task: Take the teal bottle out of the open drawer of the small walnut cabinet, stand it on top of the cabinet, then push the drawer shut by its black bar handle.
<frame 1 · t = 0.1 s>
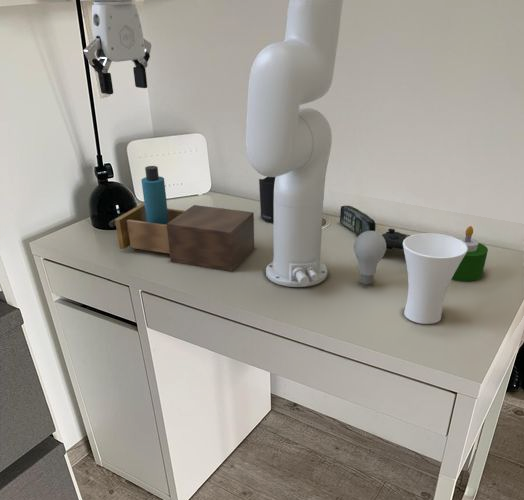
hand: (124, 90, 118), 31 cm above the table, tool pointing down, fingers open, 9 cm apart
cup: (422, 316, 98), on the table
mobile phone: (358, 233, 132), on the table
cabinet: (213, 255, 121), on the table
candle: (460, 273, 113), on the table
pen holder: (277, 218, 141), on the table
drawer: (149, 228, 124), point 4 cm above the table, slide at 12.0 cm, touching teal bottle
gaming controller: (399, 258, 119), on the table
teal bottle: (159, 238, 124), point 2 cm above the table, touching drawer
lightbulb: (365, 285, 109), on the table
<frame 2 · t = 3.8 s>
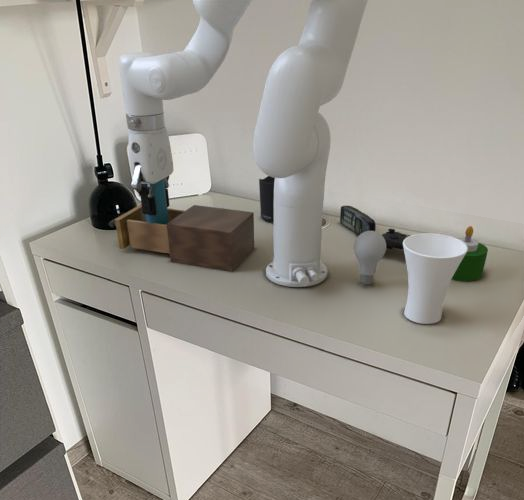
hand: (156, 209, 120), 9 cm above the table, tool pointing down, fingers closed on teal bottle, 4 cm apart
teal bottle: (159, 238, 124), point 2 cm above the table, touching drawer, gripper
everything else where it was.
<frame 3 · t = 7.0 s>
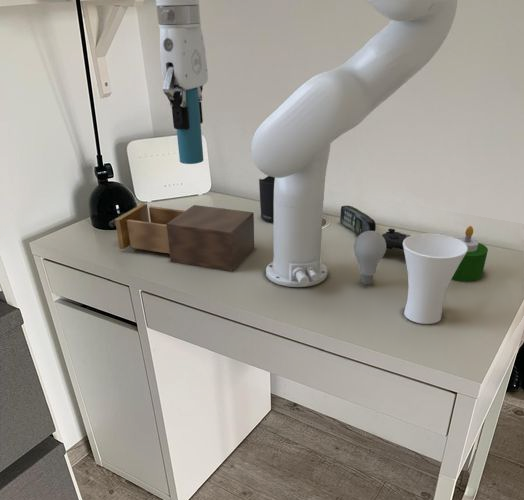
hand: (188, 125, 107), 27 cm above the table, tool pointing down, fingers closed on teal bottle, 4 cm apart
drawer: (149, 228, 124), point 4 cm above the table, slide at 12.0 cm
teal bottle: (191, 160, 111), point 20 cm above the table, touching gripper
everything else where it was.
when the fingers open (15 cm above the table, at t = 10.3 s): teal bottle stays where it is, resting on cabinet.
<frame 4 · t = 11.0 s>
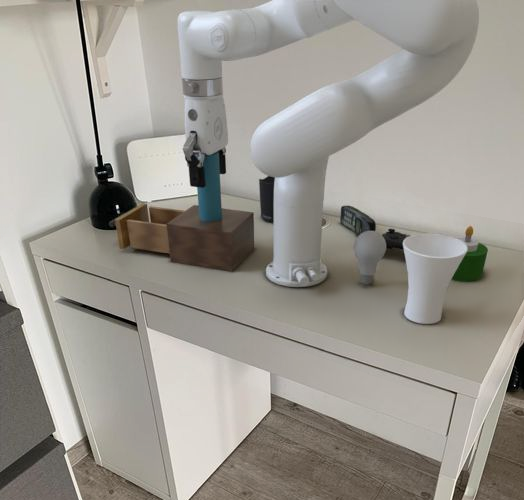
hand: (208, 179, 112), 17 cm above the table, tool pointing down, fingers open, 9 cm apart
teal bottle: (210, 217, 116), point 9 cm above the table, touching cabinet
everything else where it was.
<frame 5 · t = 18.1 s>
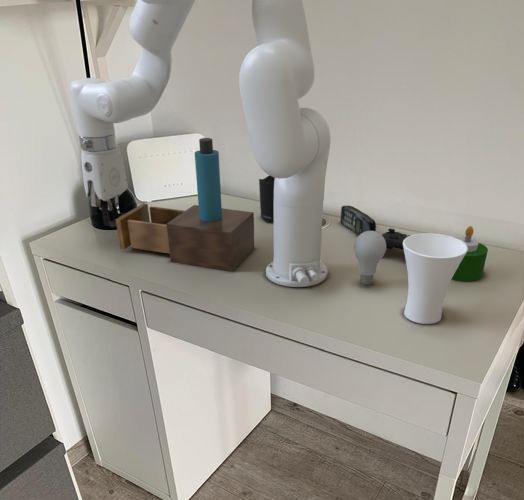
hand: (112, 224, 127), 4 cm above the table, tool pointing down, fingers closed
drawer: (150, 228, 124), point 4 cm above the table, slide at 11.8 cm, touching gripper
everything else where it was.
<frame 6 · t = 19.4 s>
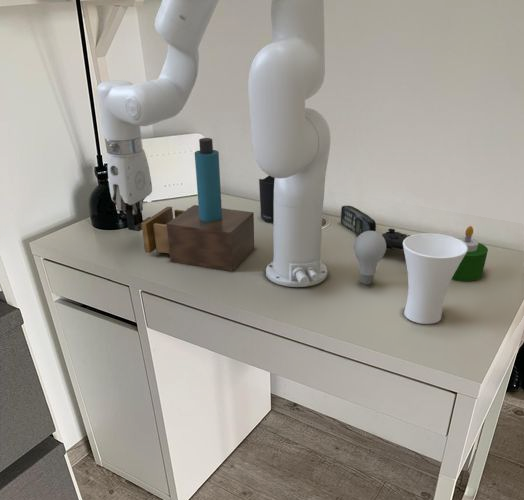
hand: (136, 229, 125), 4 cm above the table, tool pointing down, fingers closed
drawer: (175, 231, 122), point 4 cm above the table, slide at 5.3 cm, touching gripper
everything else where it was.
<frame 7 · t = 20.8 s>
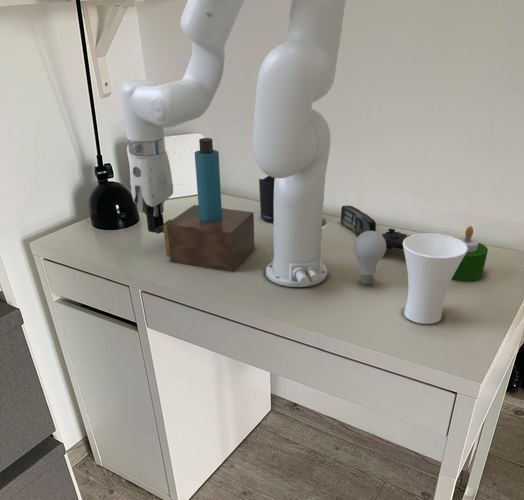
hand: (156, 231, 123), 4 cm above the table, tool pointing down, fingers closed
drawer: (197, 234, 120), point 4 cm above the table, slide at 0.0 cm, touching cabinet, gripper
everything else where it was.
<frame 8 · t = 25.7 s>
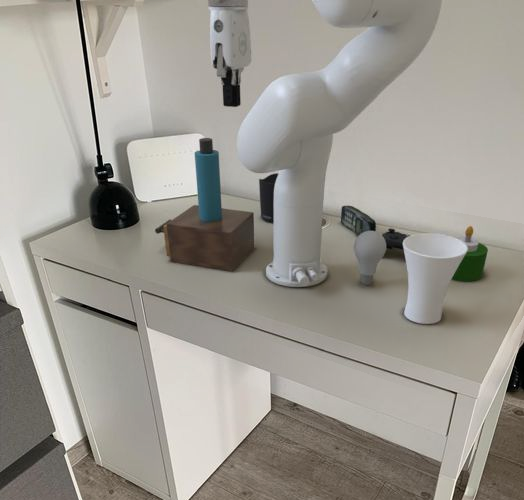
hand: (232, 105, 113), 29 cm above the table, tool pointing down, fingers closed
drawer: (197, 234, 120), point 4 cm above the table, slide at 0.0 cm, touching cabinet
everything else where it was.
at the end: teal bottle inside the target area on the cabinet (0.0 cm from its centre), point 8.6 cm above the cabinet's base; teal bottle tilted 0°; drawer slide at 0.0 cm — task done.
